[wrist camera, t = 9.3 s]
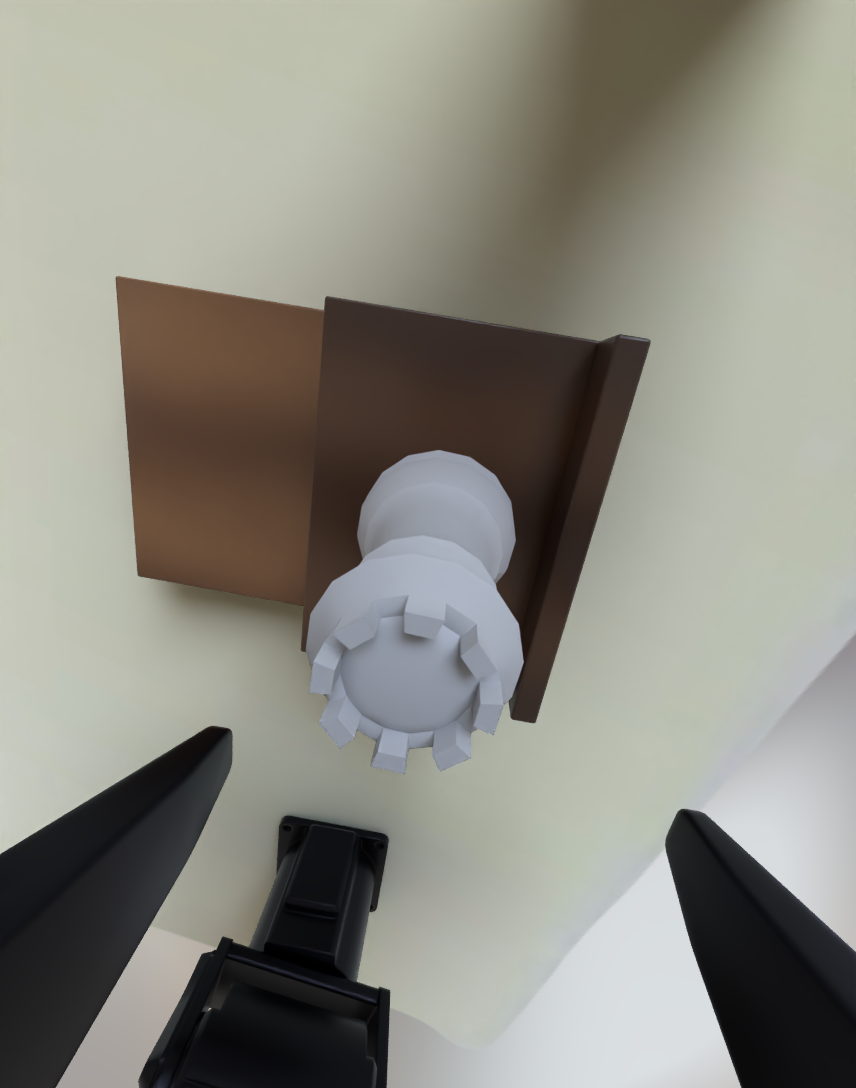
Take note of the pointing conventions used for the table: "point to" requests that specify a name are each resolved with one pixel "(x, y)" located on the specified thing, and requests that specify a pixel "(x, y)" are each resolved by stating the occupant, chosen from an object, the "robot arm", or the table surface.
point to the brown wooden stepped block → (359, 441)
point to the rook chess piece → (420, 615)
